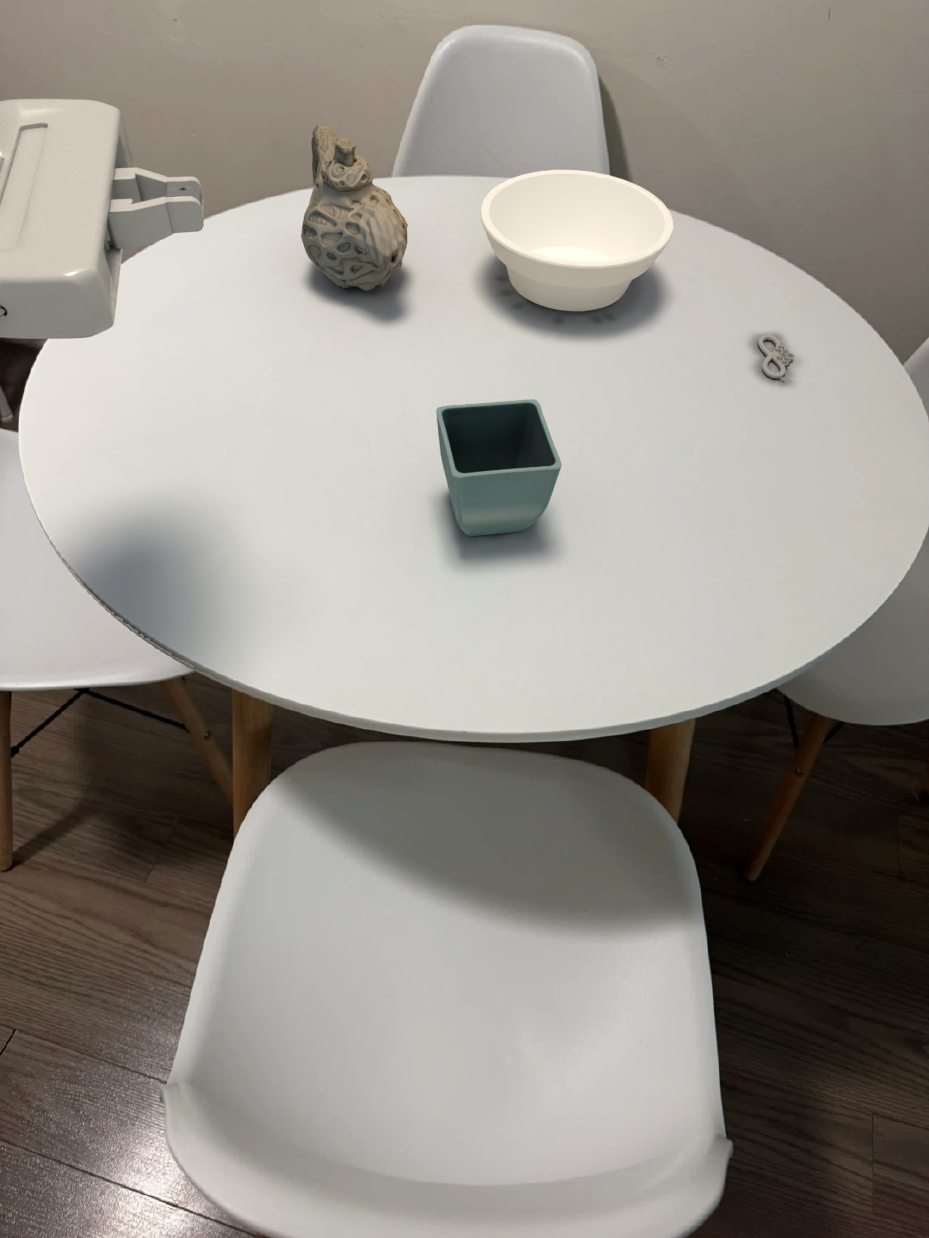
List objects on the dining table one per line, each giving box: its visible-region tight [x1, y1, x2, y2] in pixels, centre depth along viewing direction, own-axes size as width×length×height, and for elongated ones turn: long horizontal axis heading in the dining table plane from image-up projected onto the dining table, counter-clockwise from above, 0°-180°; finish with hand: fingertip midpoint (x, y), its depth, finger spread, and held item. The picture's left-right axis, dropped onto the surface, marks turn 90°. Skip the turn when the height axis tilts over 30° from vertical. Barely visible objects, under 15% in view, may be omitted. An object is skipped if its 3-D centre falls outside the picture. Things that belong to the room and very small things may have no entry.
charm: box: [757, 333, 795, 381], centre depth 93 cm, size 8×1×4 cm
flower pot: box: [435, 398, 562, 537], centre depth 74 cm, size 9×9×9 cm
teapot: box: [300, 124, 409, 292], centre depth 95 cm, size 21×12×15 cm, turn 26°
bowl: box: [479, 169, 675, 312], centre depth 98 cm, size 21×21×8 cm
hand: (202, 203), depth 50 cm, fingers closed
